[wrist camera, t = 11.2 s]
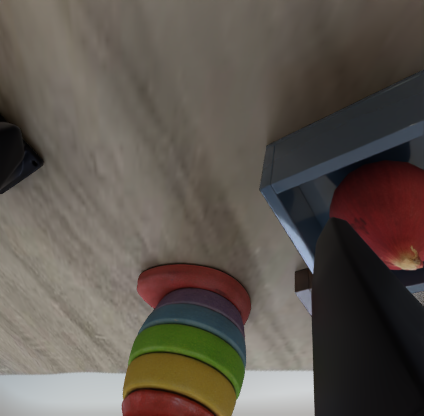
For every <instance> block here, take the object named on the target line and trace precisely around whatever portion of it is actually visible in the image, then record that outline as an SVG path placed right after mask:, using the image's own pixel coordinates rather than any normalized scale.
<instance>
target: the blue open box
mask: <svg viewBox="0 0 424 416" xmlns="http://www.w3.org/2000/svg"><path fill="white" fill-rule="evenodd" d="M383 160H390V161H400V162H408V163H411V164H413V165H415V166H417V167H419V168H421V169H423V170H424V70H422V71H420V72H418V73H416V74H414V75H411V76H409V77H407V78H405V79H403V80H401V81H399V82H397V83H395V84H393V85H391V86H389V87H387V88H385V89H382V90H380V91H378V92H376V93H374V94H372V95H370V96H368V97H366V98H364V99H362V100H360V101H358V102H356V103H354V104H351V105H349V106H347V107H345V108H343V109H341V110H339V111H337V112H335V113H333V114H331V115H329V116H327V117H325V118H323V119H320V120H318V121H316V122H314V123H312V124H310V125H308V126H306V127H304V128H302V129H300V130H298V131H296V132H294V133H291V134H289V135H287V136H285V137H283V138H281V139H279V140H277V141H275V142H273V143H271V144H269V145H267V146H266V152H265V158H264V164H263V170H262V176H261V182H260V188H259V190H260V191H261V193H262V195H263V196H264V198H265V199H266V201H267V203H268V204H269V206H270V207H271V209H272V211H273V212H274V214H275V215H276V217H277V218H278V220H279V222H280V223H281V225H282V226H283V228H284V230H285V231H286V233H287V234H288V236H289V238H290V239H291V241H292V242H293V244H294V245H295V247H296V249H297V250H298V252H299V253H300V255H301V257H302V258H303V260H304V261H305V263H306V265H307V266H308V268H309V269H310V271H311V273H312V274H313V269H314V259H315V249H316V243H317V240H318V238H319V236H320V234H321V232H322V230H323V228H324V227H325V225H326V223H327V221H328V220H329V219H330V216H329V212H330V205H331V201H332V198H333V194H334V191H335V189H336V188H337V187H338V186H339V184H340V183H341V182H342V181H343V179H344V178H345V177H346V176H347V175H348V174H349V173H350V172H352V171H354V170H356V169H357V168H359V167H361V166H363V165H364V164H369V163H374V162H379V161H383ZM423 264H424V261H423ZM391 271H392V272H393V273H394V275H395V276H396V277H397V278H398V279H399V280H400V281H401V282H402V283H403V285H404V286H405V287H406V288H407V289H408V290H409V291H410V292H411V293H416V292H421V291H424V265H423V268H418V269H416V270H403V269H402V270H391Z"/></svg>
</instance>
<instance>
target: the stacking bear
mask: <svg viewBox="0 0 424 416" xmlns="http://www.w3.org/2000/svg"><path fill="white" fill-rule="evenodd" d="M137 291H138V293H139V295H140V296H141V297H142V298H143V299H144V301H145V302H147V303H148V304H149V305H150V306H151V307H153V308H154V310H153V312H152V313H151V314H150V315H149V316H148V318H147V319H146V321H145V322H144V324H143V325H142V327H141V329H140V330H139V332H138V335H137V337H136V339H135V341H134V344H133V347H132V350H131V353H130V357H129V361H128V369H127V372H126V377H125V382H124V387H123V399H124V400H123V402H122V413H123V416H231V415H232V413H233V410H234V407H235V403H236V400H237V398H238V396H239V393H240V390H241V387H242V383H243V379H244V374H245V366H246V345H245V334H244V324H245V323H246V321H247V319H248V316H249V314H250V310H251V303H250V298H249V296H248V294H247V292H246V290H245V289H244V288H243V287H242V285H241V284H240V283H239V282H237V281H236V280H235V279H234V278H232V277H231V276H229V275H227V274H225V273H223V272H221V271H219V270H215V269H212V268H208V267H203V266H196V265H185V264H175V265H164V266H159V267H155V268H152V269H149V270H146V271H144V272H143V273H141V274H140V276H139V278H138V285H137Z"/></svg>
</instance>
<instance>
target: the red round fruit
mask: <svg viewBox="0 0 424 416" xmlns="http://www.w3.org/2000/svg"><path fill="white" fill-rule="evenodd" d="M329 216H330V218H331V217H336V218H339V219H343V220H346V221H347V222H348V223H349V224H350V225H351V226H352V228H353V229H354V230H355V231H356V232H357V233H358V234H359V235H360V237H361V238H362V239H363V240H364V241H365V242H366V243H367V244H368V245H369V247H370V248H371V249H372V250H373V251H374V252H375V253H376V254H377V256H378V257H379V258H380V259H381V260H382V261H383V262H384V263H385V264H386V266H387V267H388V268H389V269H390V270H402V269H403V270H416V269H418V268H423V265H424V264H423V261H424V170H423V169H421V168H419V167H417V166H415V165H413V164H411V163H408V162H400V161H390V160H383V161H379V162H374V163H369V164H364V165H363V166H361V167H359V168H357V169H356V170H354V171H352V172H350V173H349V174H348V175H347V176H346V177H345V178H344V179H343V181H342V182H341V183H340V184H339V186H338V187H337V188H336V189H335V191H334V194H333V198H332V201H331V205H330V212H329Z"/></svg>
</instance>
